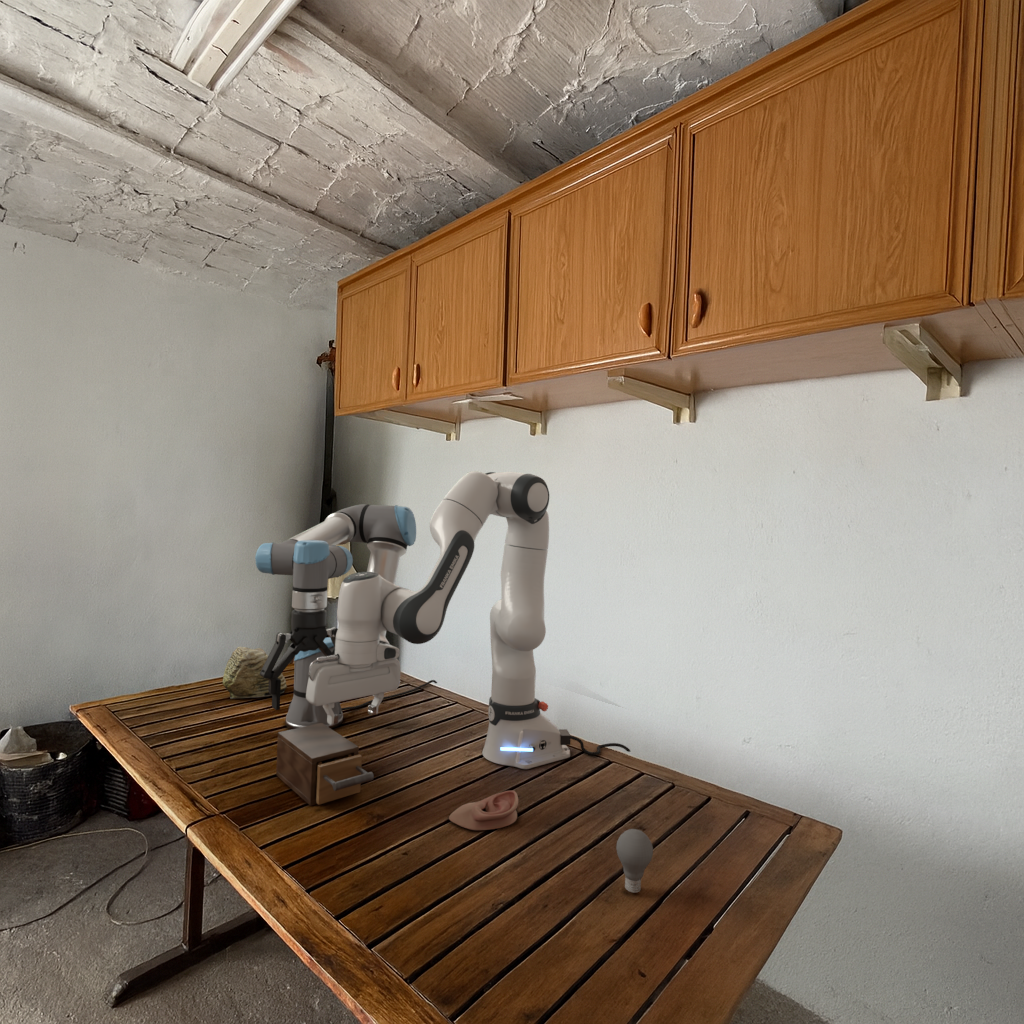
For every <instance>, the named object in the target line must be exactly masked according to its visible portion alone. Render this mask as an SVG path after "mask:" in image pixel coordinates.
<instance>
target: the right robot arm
mask: <svg viewBox="0 0 1024 1024" xmlns="http://www.w3.org/2000/svg"><path fill="white" fill-rule="evenodd" d="M549 504H550V491H549V487H548V484H547V482H546V481H545V480H544V479H543V478H541V476H537V475H535V474H532V473H523V472H518V471H516V472H515V471H505V472H504V471H503V472H495V471H494V472H493V471H490V472H486V473H485V472H481V471H479V470H472V471H469V472H467V473H465V474H464V475H463V476H461V478H459V480H457V482H455V484H454V485H453V486H452V487H451V488H450V489H449V490H448V492H447V493H446V494H445V496H444V497H443V498H442V500H441V501H440V503H439V504H438V505H437V507H436V508H435V510H434V512H433V513H432V516H431V518H430V521H429V531H430V534H431V536H432V539H433V540H434V542H435V543H436V544H437V545H438V547H439V549H440V553H439V557H438V559H437V561H436V563H435V565H434V567H433V568H432V570H431V572H430V574H429V576H428V578H427V580H426V581H425V584H424V585H422V587H421V588H419V589H418V590H416V591H415V590H411V589H409V588H406V587H402V586H400V585H397V584H396V583H395V584H392V583H390V582H388V581H387V580H385V579H384V578H382V577H381V576H380V575H379V574H378V573H375V572H367V571H359V572H358V571H357V572H354V573H351V574H349V575H347V576H346V577H344V578H343V580H342V581H341V584H340V588H339V592H338V598H337V606H336V619H337V629H338V630H337V633H336V639H335V655H330V656H326V657H318V658H317V659H316V660H314V661H313V662H312V663H311V664H310V667H309V679H308V684H307V690H306V699H307V701H308V702H309V703H311V704H312V705H315V706H321V705H323V708H324V710H325V712H326V713H327V723H328V724H330V725H332V724H336V723H338V715H337V714H335V713H333V711H332V709H331V708H334V703H336V702H340V703H341V702H345V701H350V700H354V699H359V698H364V697H370V696H373V698H372V700H373V701H372V703H370V704H367V714H368V715H370V716H375V715H378V714H379V706H380V705H381V703H382V701H383V700H384V699H383V698H384V697H385V693H389V692H394V691H397V689H398V688H399V686H400V685H401V663H400V661H399V659H398V658H399V657H400V654H401V653H400V652H401V650H400V649H399V648H398V647H397V646H394V645H392V644H390V643H389V644H386V643H383V642H380V633H381V632H382V631H386V632H389V633H392V634H394V635H396V636H399V637H400V638H402V639H403V640H405V641H407V642H408V643H410V644H414V645H422V644H425V643H428V642H430V641H431V640H433V639H434V638H435V637H436V636H437V635H438V634H439V632H440V631H441V629H442V627H443V624H444V623H445V619H446V614H447V611H448V607H449V604H450V603H451V600H452V598H453V596H454V594H455V592H456V590H457V588H458V586H459V584H460V583H461V580H462V578H463V576H464V574H465V572H466V570H467V568H468V566H469V564H470V562H471V559H472V557H473V554H474V551H475V541H476V539H477V537H478V535H479V533H480V531H481V530H482V528H483V527H484V525H485V523H486V522H487V521H488V518H489V517H490V516H491V515H493V516H496V517H501V518H505V519H506V523H507V530H506V534H505V539H504V546H503V555H502V559H501V560H502V562H501V569H500V585H501V587H500V588H501V597H500V598H501V599H499V600H497V601H496V602H495V603H494V604H493V605H492V607H491V609H490V612H489V627H490V628H489V629H490V631H489V632H490V633H489V634H490V654H491V672H492V673H491V690H490V691H491V692H490V697H489V699H488V700H489V701H488V709H487V711H488V713H487V715H488V727H487V732H486V737H485V742H484V745H483V748H482V750H481V751H482V752H481V755H482V756H483V757H484V759H486V761H487V760H488V761H489V762H491V763H494V764H497V765H502V766H508V767H515V768H518V769H521V770H529V769H534V768H537V767H540V766H543V765H547V764H551V763H554V762H558V761H561V760H562V761H563V760H565V759H569V758H570V757H571V750H570V748H569V747H568V746H570V745H571V741H572V740H574V741H576V742H578V743H579V746H580V750H581V751H582V752H583V753H585V754H586V755H589V756H599V755H601V753H602V752H601V751H602V750H601V749H603V748H608V747H617V748H621V749H623V750H625V751H626V752H629V753H630V752H631V749H630V748H629V747H628V746H626V745H624V744H623V743H618V742H610V743H603V744H599V745H597V747H596V751H589V750H588V749H586V748H585V745H584V742H583V740H582V739H581V738H579V737H576V736H574V735H571V734H570V732H569V730H568V729H563V728H562V729H559V727H558V726H557V725H556V724H555V723H554V722H553V721H551V720H550V719H549V718H548V717H547V716H545V715H544V714H543V713H541V711H542V712H546V711H548V709H549V705H548V703H546V702H545V701H540V700H539V699H538V698H536V677H537V673H536V672H537V668H536V664H535V655H534V650H536V649H537V648H538V647H540V646H541V645H542V643H543V642H544V640H545V637H546V630H547V629H546V623H545V576H546V568H547V567H546V566H547V559H548V554H549V553H548V551H549V544H550V543H549V542H550V518H549V513H548V511H547V509H548V507H549ZM315 662H317V663H315Z"/></svg>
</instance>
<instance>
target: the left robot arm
mask: <svg viewBox="0 0 1024 1024" xmlns="http://www.w3.org/2000/svg"><path fill="white" fill-rule="evenodd" d="M416 539H417V523H416V517H415V514H414V512H413V510H412V509H411V508H410V507H408V506H402V505H397V504H396V505H386V504H367V503H365V504H364V503H362V504H356V505H351V506H348V507H345V508H342V509H340V510H337V511H335V512H332V513H330V514H329V515H327V517H326V518H325V519H324V521H322V522H320V523H318V524H316V525H314V526H312V527H310V528H308V529H307V530H304V531H301V532H300V533H298V534H295V535H294V536H291V537H289V538H287V539H286V540H284V541H281V542H278V543H276V542H263V543H262V544H260V545H259V547H258V548H257V550H256V552H255V558H254V559H255V566H256V568H257V570H258V571H259V572H260V573H262V574H270V575H274V576H275V575H277V576H279V575H280V576H292V577H293V578H292V595H291V608H292V611H291V620H290V621H291V622H290V627H291V629H290V632H289V633H282V632H280V631H279V632H277V633H276V634H275V642H274V644H273V646H272V648H271V650H270V651H269V654H268V658H267V660H266V662H265V664H264V666H263V668H262V670H261V672H260V675H261V676H262V677H264V678H265V679H269V685H268V686H269V687H268V692H269V693H270V694H271V695H272V696H271V707H272V708H273V709H274V710H275V711H280V710H281V693H280V692H281V680H280V679H279V678H278V677H279V676H280V674H281V673H282V674H283V672H284V671H285V670H286V668H287V667H288V665H289V664H290V663H291V662H292V660H293V661H294V672H293V695H292V696H293V697H292V699H291V702H290V703H289V705H288V711H287V713H286V715H285V726H286V728H287V729H288V730H291V729H296V728H301V727H305V726H310V725H315V724H319V723H323V724H324V725H326V726H328V727H329V728H331V729H332V730H334V729H335V728H337V727H339V726H340V725H342V723H343V722H344V714H343V711H348V710H355V709H360V708H362V707H365V706H368V705H371V703H372V701H373V699H370V700H369V701H366V702H363V703H361V704H359V705H353V706H346V707H342V706H341V702H336V703H334V708H331V709H332V711H333V713H335V714H337V715H338V723H336V724H332V725H330V724H328V723H327V713H326V712H325V710H324V708H323V705H321V706H315V705H312V704H311V703H309V702H308V701H307V699H306V690H307V684H308V679H309V667H310V664H311V663H312V662H313V661H314V660H316V659H317V658H318V657H326V656H330V655H335V639H336V633H337V630H338V627H335V626H331V627H330V628H327V627H326V626H327V613H328V611H327V609H326V608H327V606H328V585H329V584H328V583H329V580H330V579H335V578H340V577H342V576H344V575H346V574H347V573H349V572H350V571H351V569H352V568H353V567H352V566H353V564H354V563H353V562H354V559H353V554H352V553H351V551H350V550H349V549H348V548H347V547H345V546H342V545H347V544H348V543H365V544H366V547H367V549H368V550H369V552H370V554H369V560H368V565H367V569H366V572H375V573H378V574H379V575H380V576H381V577H382V578H384V579H385V580H387V581H388V582H390V583H392V584H395V585H396V581H397V575H398V571H399V565H400V560H401V557H402V556H404V555H406V553H407V551H408V550H407V549H408V547H411V546H414V544H415V542H416ZM386 636H387V631H382V632H381V633H380V642H383V643H386V644H389V645H390V641H388V639H387V637H386ZM288 641H290V642H291V643H290V644H289V646H288V647H287V650H285V652H284V653H283V654H282V652H283V650H284V648H285V645H286V644H287V643H288ZM281 655H282V656H281ZM280 656H281V657H280ZM315 663H317V662H315ZM432 683H434V684H438V681H436V680H435V679H431V680H428V681H427V682H426V683H425V682H424V683H423V684H421V685H418V686H416V687H414V688H412V689H409V690H406V691H403V692H400V693H395V694H392V695H387V696H384V698H383V700H388V699H392V698H396V697H400V696H403V695H406V694H409V693H412V692H415V691H417V690H419V689H422V688H423V687H426V686H428V685H429V684H432Z"/></svg>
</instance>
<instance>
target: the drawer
mask: <svg viewBox="0 0 1024 1024" xmlns="http://www.w3.org/2000/svg"><path fill="white" fill-rule="evenodd" d="M362 761H363V756H362V755H361V754H358V755H355V756H351V754H347V755H343V756H339V757H335V758H331V759H328V760H324V761H320V762H317V768H316V793H315V795H316V796H317V797H316V803H317V804H316V805H318V806H319V805H322V804H327V803H330V802H333V801H336V800H339V799H342V798H345V797H348V796H352V795H355V794H358V793H361V788H362V787H361V786H362V784H364V783H367V782H371V781H373V780H374V779H375V775H374V773H373V772H372V771H366V770H365V769H364V768H362Z"/></svg>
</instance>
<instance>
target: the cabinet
mask: <svg viewBox="0 0 1024 1024" xmlns="http://www.w3.org/2000/svg"><path fill="white" fill-rule="evenodd" d="M276 744H277V745H276V769H275V770H276V771H275V773H276V777H278V778H279V779H280V780H281V781H282V782H283V783H284V784H285V785H286V786H287V787H289V789H291V790H292V791H293V792H294V793H295V794H297V795H298V796H299V797H300V798H301V799H302V800H303V801H304V802H305V803H306V804H307V805H308V806H315V805H318V804H317V803H316V797H317V796H316V795H315V793H316V768H317V762H320V761H324V760H328V759H331V758H335V757H339V756H343V755H347V754H351V756H355V755H358V754H359V752H360V751H359V750H360V747H359V745H357V744H356V743H354V742H352V741H350V740H349V739H348V738H346V737H344V736H343V735H341V734H340V733H338V732H337V731H335V730H334V729H331V728H329V727H328V726H326V725H324V724H323V723H319V724H315V725H310V726H305V727H301V728H296V729H287V730H283V731H278V732H277V743H276ZM359 755H360V754H359Z"/></svg>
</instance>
